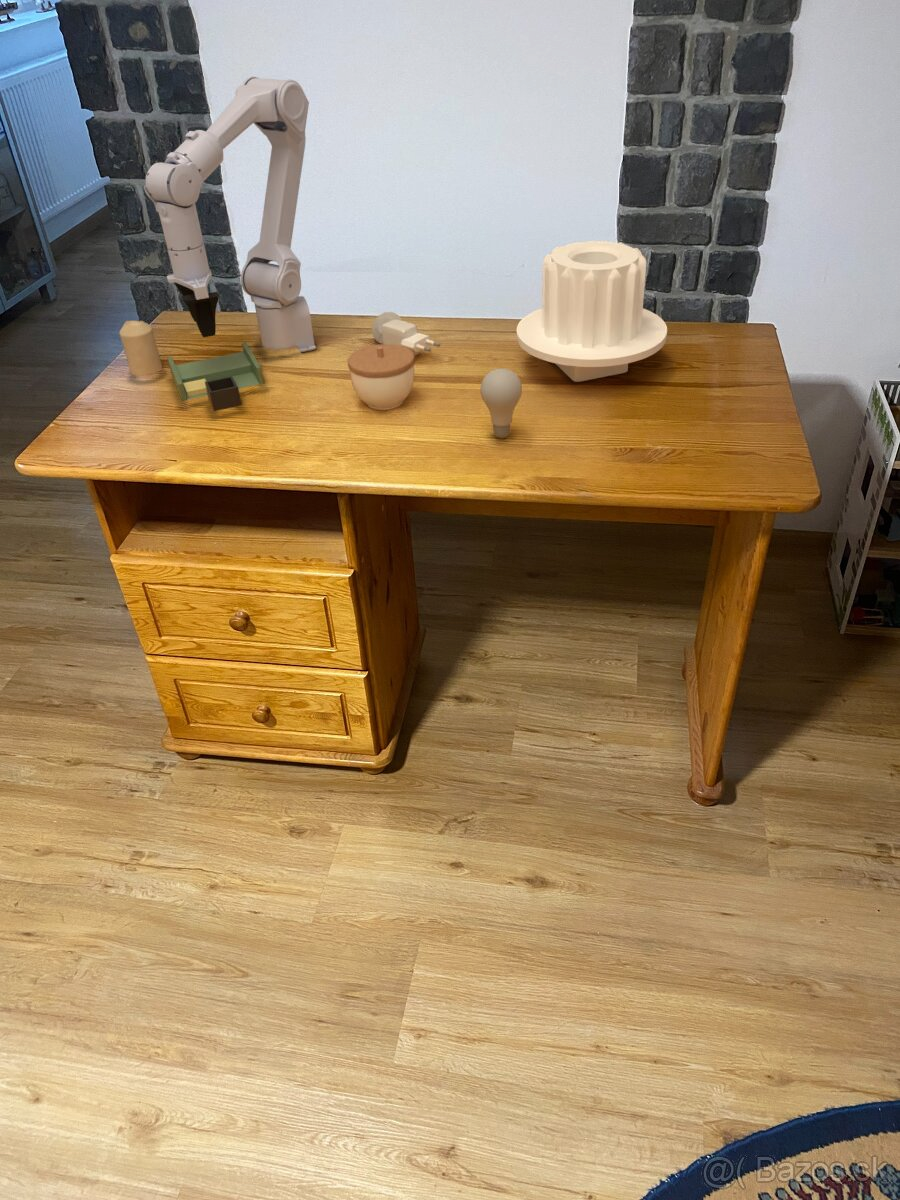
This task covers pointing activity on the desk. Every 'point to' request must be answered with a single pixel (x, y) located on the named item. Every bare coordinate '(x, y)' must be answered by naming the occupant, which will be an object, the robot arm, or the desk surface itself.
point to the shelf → (218, 370)
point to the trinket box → (382, 375)
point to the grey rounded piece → (379, 323)
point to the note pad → (195, 387)
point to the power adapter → (406, 336)
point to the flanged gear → (592, 311)
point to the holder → (223, 393)
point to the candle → (140, 348)
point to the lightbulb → (501, 398)
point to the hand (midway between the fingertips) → (204, 327)
